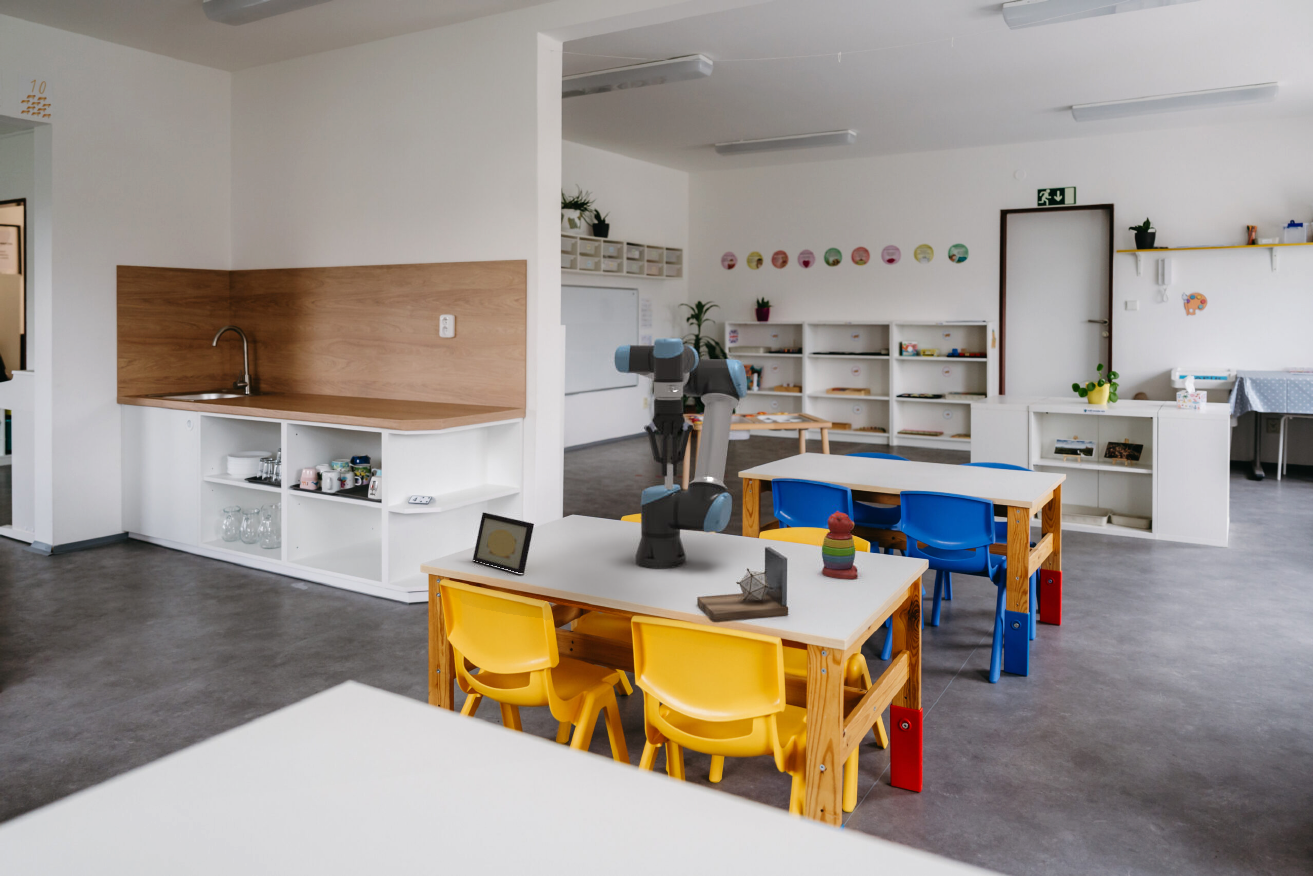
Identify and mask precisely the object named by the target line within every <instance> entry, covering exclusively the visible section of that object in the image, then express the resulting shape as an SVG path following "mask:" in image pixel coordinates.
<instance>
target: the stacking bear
mask: <svg viewBox="0 0 1313 876" xmlns="http://www.w3.org/2000/svg"><path fill="white" fill-rule="evenodd" d="M827 526H828V530H829V531H828V532H827V533H826V535H825V536H824V538H823V543H822V545H821V557H822V563H823V568H822V571H821V572H822V574H823V576H826V577H829V578H834V579H835V578H836V579H843V580H856V579H858V576H859V574H858V573H857V572H858V568H857V566H856V565H854V562H855V558H856V546H855V541H854V537H853V534H852V533H851V532H852V530H853V529H854V527H855V522H854V521H853V520H851V518H850V517H849V515H848V514H846V513H844V512H840V511H839V510H837V511H835V512H834V513H833V514H830V516H829V517H828V519H827Z"/></svg>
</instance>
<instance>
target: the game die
mask: <svg viewBox="0 0 1313 876" xmlns="http://www.w3.org/2000/svg"><path fill="white" fill-rule="evenodd" d="M766 572H767V570H766V571H765V570H764V572H762V571H761V572H760V571H753V570H750V569H749V568H748V567H747V568H746V574H745V575H744V576H743V578H741V580H740V581H736V582H735V583H736V585H739V587H740V589H741V592H742V593H743V595H744V597H745V598H744V599H743V601H745V599H751V600H759V601H761V603H762V604H763V601H762V599H763V598H764V597H765V595H766V594H767V593H768V591H769V590H770V589H774V588H773V587H770V585H769V582H768V580H767V577H766V574H765V573H766Z"/></svg>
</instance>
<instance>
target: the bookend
mask: <svg viewBox="0 0 1313 876" xmlns="http://www.w3.org/2000/svg"><path fill="white" fill-rule="evenodd" d="M766 570H767V572H766V573H765V574H766V577H767V580H768V582H769V585H770V587H773V588H774V589H770V590H769V591H768V593H767V595H768V596H769V597H771V598H772V599H773V600H775V601H776V602H777V603H778V604H780V605H781V606H787V607H788V604H787V603H788V558H787V557H786V556H784V555H783V554H782V553H780V552H778V551H776V550H775V549H773V548H772V547H770V546H764V572H765V571H766Z"/></svg>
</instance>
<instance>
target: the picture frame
mask: <svg viewBox="0 0 1313 876" xmlns="http://www.w3.org/2000/svg"><path fill="white" fill-rule="evenodd" d="M481 513H482V514H481V518H480V523H479V527H478V533H477V539H476V543H475V546H474V547H475V548H474V552H473V558H472V561H473V560H475V561H478V562H482V563H485V564H489V565H493V566H497V567H500V568H504V569H508V570H511V571H514V572H518V573H524V574H525V570H526V565H527V560H528V555H529V551H530V546H531V540H532V536H533V531H534V525H535V523H533V522H529V521H524V520H519V519H515V518H510V517H506V516H502V515H498V514H493V513H489V512H488V513H487V512H481Z"/></svg>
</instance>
